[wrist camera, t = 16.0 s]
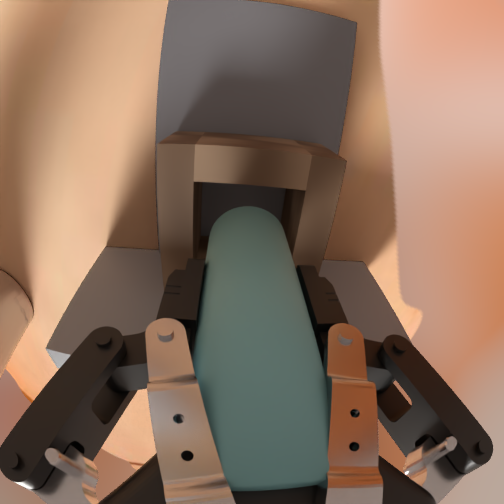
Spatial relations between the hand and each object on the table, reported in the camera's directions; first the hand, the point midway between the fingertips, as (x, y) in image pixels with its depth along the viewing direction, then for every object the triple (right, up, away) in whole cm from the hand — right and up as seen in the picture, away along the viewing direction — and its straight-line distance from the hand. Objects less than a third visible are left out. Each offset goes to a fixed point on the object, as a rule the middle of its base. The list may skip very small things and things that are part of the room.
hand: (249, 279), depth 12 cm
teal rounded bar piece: (0, +2, +3) cm, 3 cm away
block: (-1, +5, +8) cm, 9 cm away
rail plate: (0, +10, +7) cm, 12 cm away
